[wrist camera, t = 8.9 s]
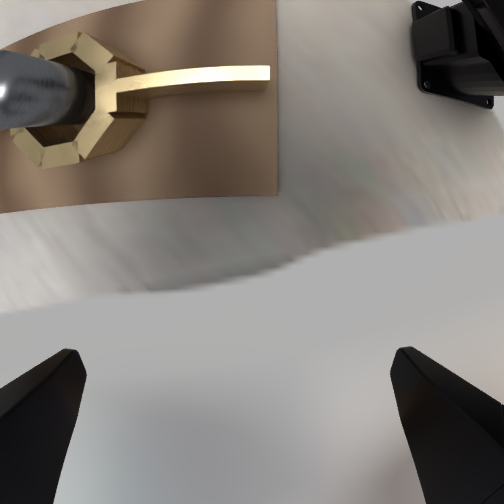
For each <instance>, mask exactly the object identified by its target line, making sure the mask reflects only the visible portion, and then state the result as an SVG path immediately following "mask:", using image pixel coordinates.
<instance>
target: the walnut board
mask: <svg viewBox="0 0 504 504" xmlns="http://www.w3.org/2000/svg"><path fill="white" fill-rule="evenodd" d="M77 31H78V32H81V33H83V32H85V33H87V34H89V35H91V36H93V37H95V38H98V39H100V40H102V41H104V42H106V43H108V44H110V45H112V46H114V47H116V48H118V49H120V50H121V51H122V52H124V53H125V54H126V55H128V56H129V57H130V58H131V59H133V60H134V61H135V62H136V63H138V64H139V65H140V66H141V67H142V68H144V69H145V72H144V74H150V73H157V72H165V71H173V70H183V69H194V68H207V67H224V66H270V81H269V83H268V85H267V87H266V89H265V91H264V92H228V93H208V94H193V95H181V96H171V97H162V98H153V99H148V107H149V113H146V114H142V115H143V116H144V117H145V118H146V120H145V121H144V123H143V124H142V125H141V126H140V128H139V129H138V130H137V131H136V132H135V134H134V135H133V136H132V137H131V139H130V140H129V141H128V143H127V144H126V145H125V146H124V148H123V149H121V150H117V152H116V153H112V154H109V155H105V156H101V157H98V158H94V159H91V160H88V161H84V162H81V163H76V164H70V165H63V166H57V167H52V168H46V169H42V166H40V167H36V166H35V165H34V163H33V162H32V161H31V160H30V159H29V158H28V157H27V156H26V155H25V154H24V153H23V152H22V151H21V150H20V149H19V148H18V147H17V146H16V145H15V143H14V142H13V139H14V137H15V135H11V136H10V130H7V131H4V132H1V133H0V214H1V213H9V212H16V211H25V210H33V209H42V208H52V207H62V206H72V205H83V204H95V203H108V202H121V201H136V200H153V199H172V198H196V197H228V196H278V87H277V34H276V0H144V1H139V2H135V3H130V4H125V5H121V6H117V7H113V8H109V9H105V10H102V11H98V12H95V13H91V14H88V15H85V16H81V17H78V18H75V19H72V20H69V21H66V22H64V23H61V24H58V25H55V26H53V27H50V28H47V29H45V30H42V31H40V32H38V33H35V34H33V35H30V36H28V37H26V38H24V39H21V40H19V41H17V42H15V43H13V44H11V45H9V46H7V47H5V48H3V49H1V50H8V51H12V52H17V53H21V54H25V55H29V56H30V55H31V54H32V52H33V51H34V49H37V50H39V49H40V44H42V43H45V42H48V41H50V40H53V39H56V38H59V37H62V36H65V35H68V34H71V33H74V32H77ZM87 72H90V73H93V74H95V71H94V70H93V69H92V70H88V71H87ZM72 126H73V127H74V128H75V129H76V130H77V131H78V132H80V131H81V129H82V128H83V126H84V125H72Z"/></svg>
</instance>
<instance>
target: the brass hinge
mask: <svg viewBox="0 0 504 504" xmlns="http://www.w3.org/2000/svg"><path fill="white" fill-rule="evenodd" d="M30 56H34V57H38V58H41V59H45V60H49V61H53V62H56V63H60V64H63V65H67V66H70V67H74V68H77V69H80V70H84V71H88V70H92V69H93V70H94V71H95V106H96V110H95V111H94V112H93V114H92V115H91V116H90V118H89V119H88V121H87V122H86V124H85V125H84V126H83V128H82V129H81V131H80V132H78V131H77V130H76V129H75V128H74V127H73V126H72V125H54V126H37V127H23V128H11V129H2V130H0V133H1V132H4V131H7V130H10V136H11V135H15V137H14V139H13V142H14V143H15V145H16V146H17V147H18V148H19V149H20V150H21V151H22V152H23V153H24V154H25V155H26V156H27V157H28V158H29V159H30V160H31V161H32V162H33V163H34V165H35V166H36V167H40V166H42V169H46V168H52V167H57V166H63V165H70V164H76V163H81V162H84V161H88V160H91V159H94V158H98V157H101V156H105V155H109V154H112V153H116V152H117V150H121V149H123V148H124V146H125V145H126V144H127V143H128V141H129V140H130V139H131V137H132V136H133V135H134V134H135V132H136V131H137V130H138V129H139V128H140V126H141V125H142V124H143V123H144V121H145V120H146V118H145V117H144V116H143V115H142V114H146V113H149V107H148V99H153V98H162V97H171V96H181V95H193V94H208V93H228V92H264V91H265V89H266V87H267V85H268V83H269V81H270V66H224V67H207V68H194V69H183V70H173V71H165V72H157V73H150V74H144V72H145V69H144V68H142V67H141V66H140V65H139V64H138V63H136V62H135V61H134V60H133V59H131V58H130V57H129V56H128V55H126V54H125V53H124V52H122V51H121V50H120V49H118V48H116V47H114V46H112V45H110V44H108V43H106V42H104V41H102V40H100V39H98V38H95V37H93V36H91V35H89V34H87V33H85V32H83V33H81V32H78V31H77V32H74V33H71V34H68V35H65V36H62V37H59V38H56V39H53V40H50V41H48V42H45V43H42V44H40V49H39V50H37V49H34V51H33V52H32V54H31V55H30Z"/></svg>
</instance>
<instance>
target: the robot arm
mask: <svg viewBox="0 0 504 504" xmlns="http://www.w3.org/2000/svg"><path fill="white" fill-rule="evenodd" d="M462 1H463V2H461V3H458V4H456V5H454V6H451V7H449V6H446V7H443V8H440V7H437V6H434V5H431V4H428V3H425V2H422V1H416V2H415V3H413V4H412V10H413V19H414V23H413V24H412V25H413V36H414V49H415V58H416V59H417V74H418V87H419V89H420V90H421V91H422V92H424V93H428V94H433V95H437V96H441V97H445V98H449V99H453V100H457V101H461V102H464V103H468V104H471V105H475V106H478V107H482V108H485V109H492V108H493V106H494V96H504V0H462ZM418 6H420V7H421V9H422V10H420V9H419V7H418ZM424 82H426V83H427V85H428V87H427V88H426V87H425V85H424ZM487 101H488V104H487ZM86 376H87V375H86V370H85V367H84V365H83V362H82V360H81V357H80V355H79V353H78V351H77V350H74V349H63V350H61V351H59V352H58V353H57V354H55V355H53V356H51V357H50V358H48V359H47V360H45V361H43V362H42V363H40V364H39V365H37V366H35V367H34V368H32V369H31V370H29V371H27V372H26V373H24V374H23V375H21V376H19V377H18V378H16V379H15V380H13V381H11V382H10V383H8V384H7V385H5V386H4V387H2V388H0V504H53V502H54V498H55V493H56V489H57V485H58V482H59V478H60V474H61V470H62V467H63V463H64V460H65V456H66V453H67V449H68V446H69V443H70V440H71V437H72V433H73V430H74V427H75V424H76V420H77V416H78V412H79V408H80V403H81V399H82V394H83V390H84V386H85V382H86ZM390 377H391V381H392V385H393V389H394V394H395V398H396V402H397V407H398V411H399V415H400V419H401V423H402V426H403V429H404V432H405V435H406V438H407V441H408V445H409V448H410V451H411V454H412V457H413V460H414V463H415V466H416V470H417V473H418V477H419V480H420V483H421V487H422V491H423V494H424V497H425V501H426V504H504V405H503V404H502V405H501V403H500V402H498V401H497V400H495V399H494V398H492V397H491V396H489V395H487V394H486V393H484V392H483V391H481V390H480V389H478V388H476V387H475V386H473V385H472V384H470V383H468V382H467V381H465V380H464V379H462V378H461V377H459V376H458V375H456V374H454V373H453V372H451V371H450V370H448V369H447V368H445V367H443V366H442V365H440V364H439V363H437V362H436V361H434V360H432V359H431V358H429V357H428V356H426V355H424V354H423V353H421V352H420V351H418V350H417V349H415V348H413V347H411V346H410V347H402V348H399V349H398V350H397V352H396V354H395V358H394V361H393V364H392V367H391V370H390Z"/></svg>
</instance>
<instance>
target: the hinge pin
mask: <svg viewBox="0 0 504 504" xmlns="http://www.w3.org/2000/svg"><path fill="white" fill-rule="evenodd" d="M95 110H96V106H95V74H93V73H90V72H87V71H84V70H80V69H77V68H74V67H70V66H67V65H63V64H60V63H56V62H53V61H49V60H45V59H41V58H38V57H34V56H29V55H25V54H21V53H17V52H12V51H8V50H0V130H2V129H11V128H23V127H37V126H54V125H85V124H86V122H87V121H88V119H89V118H90V116H91V115H92V114H93V112H94V111H95Z"/></svg>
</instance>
